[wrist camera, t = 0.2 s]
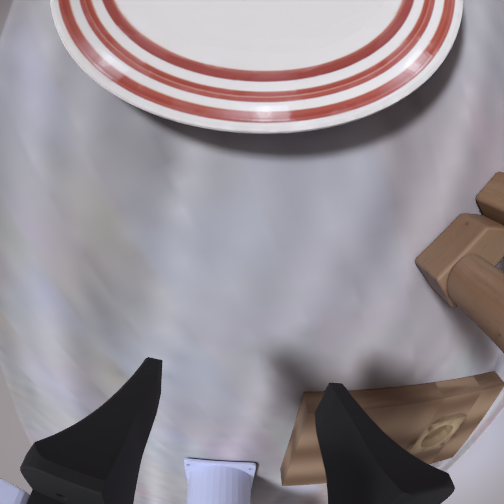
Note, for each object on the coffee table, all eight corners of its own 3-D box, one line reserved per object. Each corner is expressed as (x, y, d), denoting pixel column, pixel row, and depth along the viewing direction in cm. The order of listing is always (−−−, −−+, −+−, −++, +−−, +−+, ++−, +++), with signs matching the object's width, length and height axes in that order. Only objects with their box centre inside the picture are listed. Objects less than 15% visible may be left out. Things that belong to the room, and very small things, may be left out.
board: (446, 444, 32) (452, 457, 30) (280, 468, 31) (282, 485, 29) (494, 371, 27) (505, 384, 25) (303, 392, 26) (308, 412, 24)
